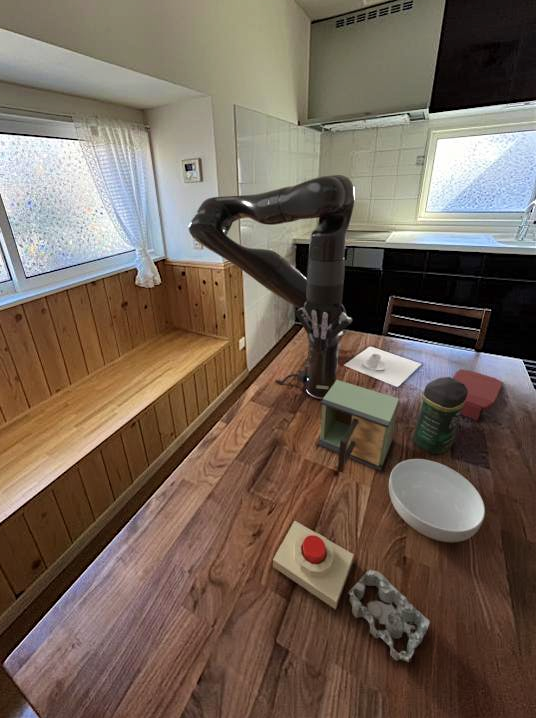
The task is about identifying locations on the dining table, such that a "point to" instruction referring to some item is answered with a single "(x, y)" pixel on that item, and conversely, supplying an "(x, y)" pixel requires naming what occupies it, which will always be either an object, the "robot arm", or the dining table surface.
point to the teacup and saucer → (383, 366)
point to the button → (314, 549)
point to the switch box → (314, 565)
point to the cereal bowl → (436, 500)
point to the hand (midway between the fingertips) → (320, 351)
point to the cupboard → (358, 403)
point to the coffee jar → (440, 414)
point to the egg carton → (389, 614)
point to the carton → (478, 392)
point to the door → (362, 442)
